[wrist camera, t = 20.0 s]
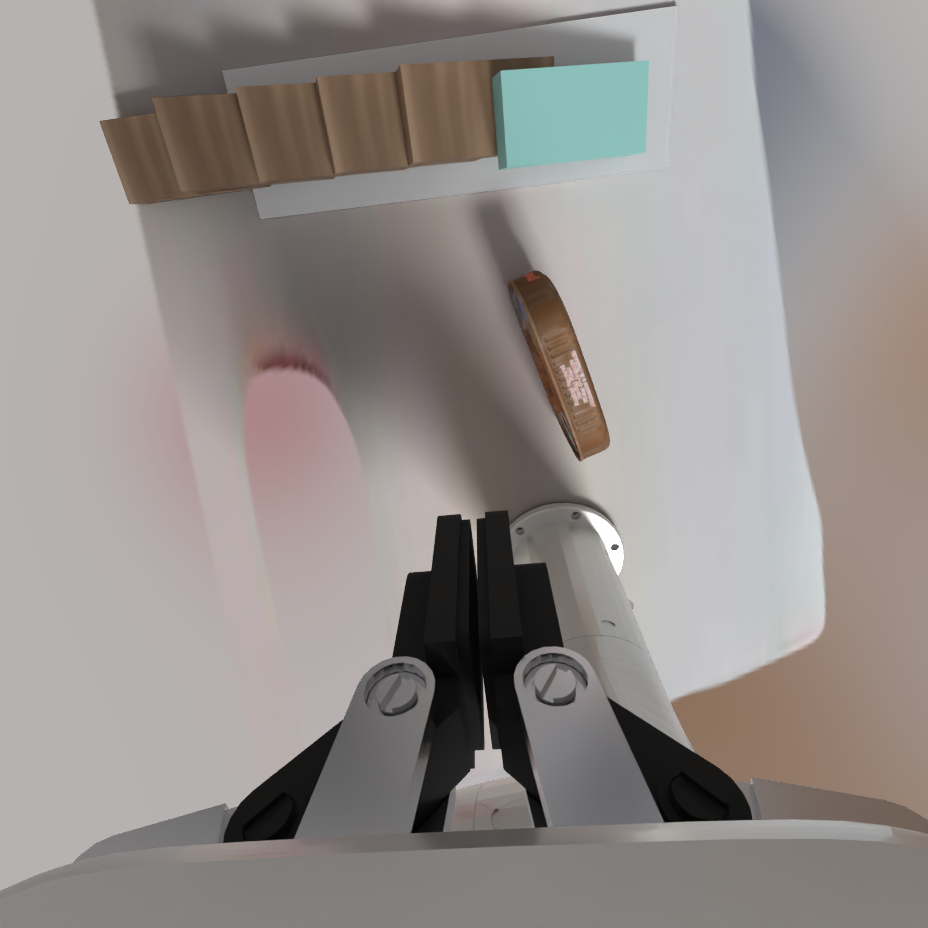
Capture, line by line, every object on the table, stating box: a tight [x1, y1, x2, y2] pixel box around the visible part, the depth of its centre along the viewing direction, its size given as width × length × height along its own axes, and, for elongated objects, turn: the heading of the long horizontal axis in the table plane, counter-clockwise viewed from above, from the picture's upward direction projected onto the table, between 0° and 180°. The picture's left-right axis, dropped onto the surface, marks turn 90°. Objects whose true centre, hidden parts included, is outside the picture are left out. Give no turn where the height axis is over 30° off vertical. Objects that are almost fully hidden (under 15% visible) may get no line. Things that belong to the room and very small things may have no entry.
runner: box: [222, 5, 679, 219], centre depth 35 cm, size 30×9×1 cm, turn 96°
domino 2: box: [151, 93, 335, 193], centre depth 33 cm, size 2×5×10 cm
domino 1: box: [100, 112, 271, 204], centre depth 35 cm, size 2×5×10 cm
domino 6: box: [492, 60, 649, 170], centre depth 33 cm, size 2×5×10 cm
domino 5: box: [395, 56, 554, 166], centre depth 32 cm, size 2×5×10 cm
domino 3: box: [235, 83, 407, 184], centre depth 33 cm, size 2×5×10 cm
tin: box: [508, 271, 610, 462], centre depth 38 cm, size 15×3×8 cm, turn 24°
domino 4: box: [316, 72, 481, 175], centre depth 33 cm, size 2×5×10 cm
